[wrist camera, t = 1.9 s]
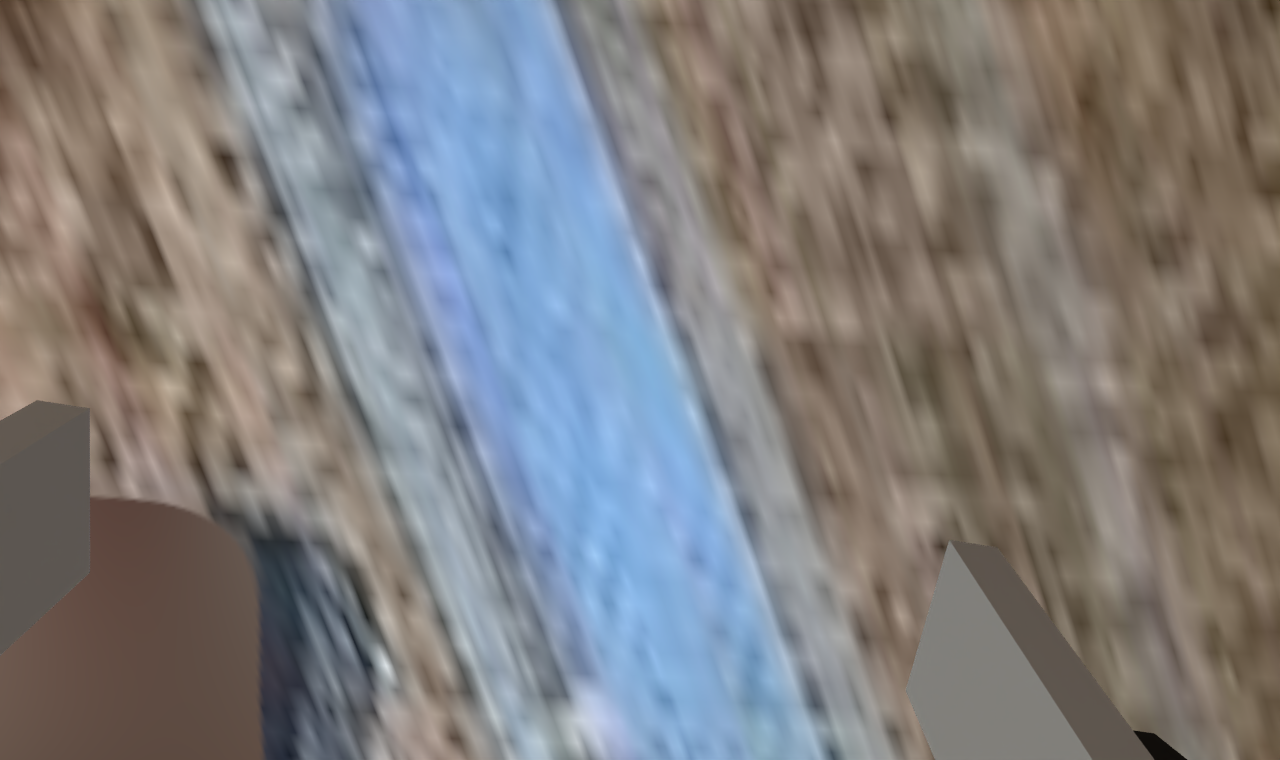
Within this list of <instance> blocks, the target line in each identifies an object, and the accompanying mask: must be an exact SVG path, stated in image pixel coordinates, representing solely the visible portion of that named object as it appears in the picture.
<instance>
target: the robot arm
mask: <svg viewBox="0 0 1280 760" xmlns="http://www.w3.org/2000/svg"><path fill="white" fill-rule="evenodd" d="M89 573H90V408H84V407H77V406H71V405H64V404H57V403H51V402H44V401H38V400H37V401H35V402H33V403H31V404H30V405H28V406H26V407H24V408H22V409H21V410H19V411H17V412H15V413H13V414H12V415H10V416H8V417H6V418H4V419H3V420H1V421H0V655H1V654H2V653H3V652H4V651H5V650H6V649H8V648H9V647H10V646H11V645H12V644H13V643H14V642H15V641H16V640H17V639H18V638H20V637H21V636H22V635H23V634H24V633H25V632H26V631H27V630H28V629H29V628H30V627H31V626H33V625H34V624H35V623H36V622H37V621H38V620H39V619H40V618H41V617H42V616H43V615H44V614H46V612H48V611H49V610H50V609H51V608H52V607H53V606H54V605H55V604H56V603H57V602H59V601H60V600H61V599H62V598H63V597H64V596H65V595H66V594H67V593H68V592H69V591H70V590H71V589H73V588H74V587H75V586H76V585H77V584H78V583H79V582H80V581H81V580H82V579H83V578H84V577H85V576H87V575H88V574H89ZM906 692H907V695H908V697H909V699H910V702H911V704H912V706H913V709H914V711H915V714H916V716H917V718H918V721H919V723H920V725H921V728H922V730H923V732H924V735H925V737H926V739H927V742H928V744H929V746H930V749H931V751H932V754H933V756H934V758H935V760H1187V759H1186V758H1184V757H1183V756H1182V755H1181V754H1179V753H1178V752H1177V751H1176V750H1174V749H1173V748H1172V747H1171V746H1169V745H1168V744H1167V743H1166V742H1164V741H1163V740H1162V739H1161V738H1159V737H1158V736H1157V735H1156V734H1154V733H1147V732H1140V731H1133V730H1132V729H1131V727H1130V726H1129V725H1128V723H1127V722H1126V721H1125V719H1124V718H1123V717H1122V715H1121V714H1120V713H1119V711H1118V710H1117V708H1116V707H1115V706H1114V704H1113V703H1112V702H1111V700H1110V699H1109V698H1108V696H1107V695H1106V694H1105V692H1104V691H1103V690H1102V688H1101V687H1100V685H1099V684H1098V683H1097V681H1096V680H1095V679H1094V677H1093V676H1092V675H1091V673H1090V672H1089V671H1088V669H1087V668H1086V667H1085V665H1084V664H1083V663H1082V661H1081V660H1080V658H1079V657H1078V656H1077V654H1076V653H1075V652H1074V650H1073V649H1072V648H1071V646H1070V645H1069V644H1068V642H1067V641H1066V640H1065V638H1064V637H1063V635H1062V634H1061V633H1060V631H1059V630H1058V629H1057V627H1056V626H1055V625H1054V623H1053V622H1052V621H1051V619H1050V618H1049V617H1048V615H1047V614H1046V613H1045V611H1044V610H1043V608H1042V607H1041V606H1040V604H1039V603H1038V602H1037V600H1036V599H1035V598H1034V596H1033V595H1032V594H1031V592H1030V591H1029V590H1028V588H1027V587H1026V585H1025V584H1024V583H1023V581H1022V580H1021V579H1020V577H1019V576H1018V575H1017V573H1016V572H1015V571H1014V569H1013V568H1012V567H1011V565H1010V564H1009V563H1008V561H1007V560H1006V558H1005V557H1004V556H1003V554H1002V553H1001V552H1000V550H999V549H998V548H997V547H992V546H985V545H979V544H972V543H966V542H959V541H953V540H949V543H948V547H947V550H946V553H945V557H944V560H943V564H942V567H941V571H940V574H939V578H938V581H937V584H936V588H935V591H934V595H933V598H932V602H931V605H930V609H929V612H928V615H927V619H926V622H925V626H924V629H923V633H922V636H921V640H920V643H919V647H918V650H917V653H916V657H915V660H914V664H913V667H912V671H911V674H910V678H909V681H908V684H907V688H906Z"/></svg>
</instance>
